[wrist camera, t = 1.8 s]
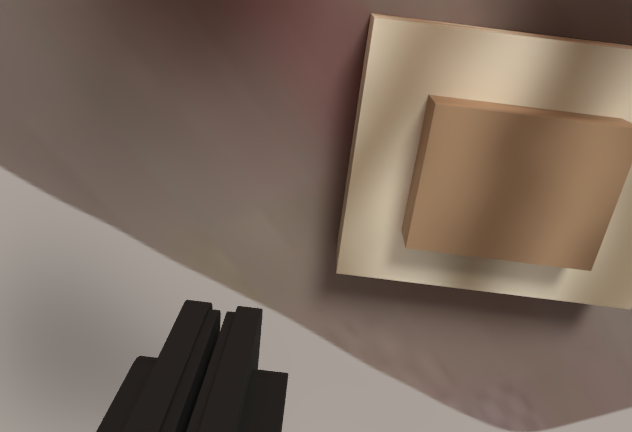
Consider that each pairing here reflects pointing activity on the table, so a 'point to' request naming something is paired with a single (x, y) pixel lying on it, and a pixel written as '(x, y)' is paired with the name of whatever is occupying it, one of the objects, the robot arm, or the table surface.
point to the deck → (482, 85)
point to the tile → (515, 182)
